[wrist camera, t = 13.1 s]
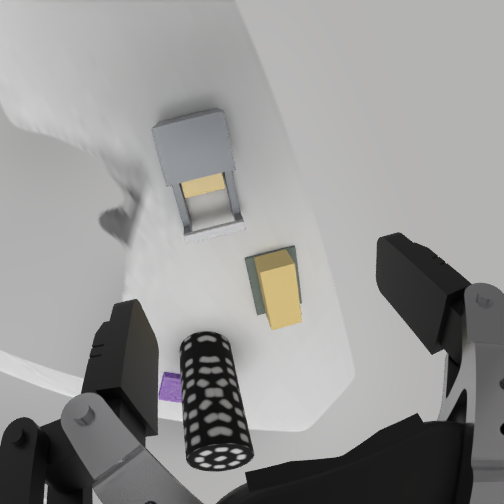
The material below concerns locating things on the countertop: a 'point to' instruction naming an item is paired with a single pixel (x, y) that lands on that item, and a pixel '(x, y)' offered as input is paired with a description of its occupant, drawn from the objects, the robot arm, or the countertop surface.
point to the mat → (255, 281)
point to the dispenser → (198, 165)
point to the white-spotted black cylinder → (212, 405)
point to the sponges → (171, 387)
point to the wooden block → (279, 288)
